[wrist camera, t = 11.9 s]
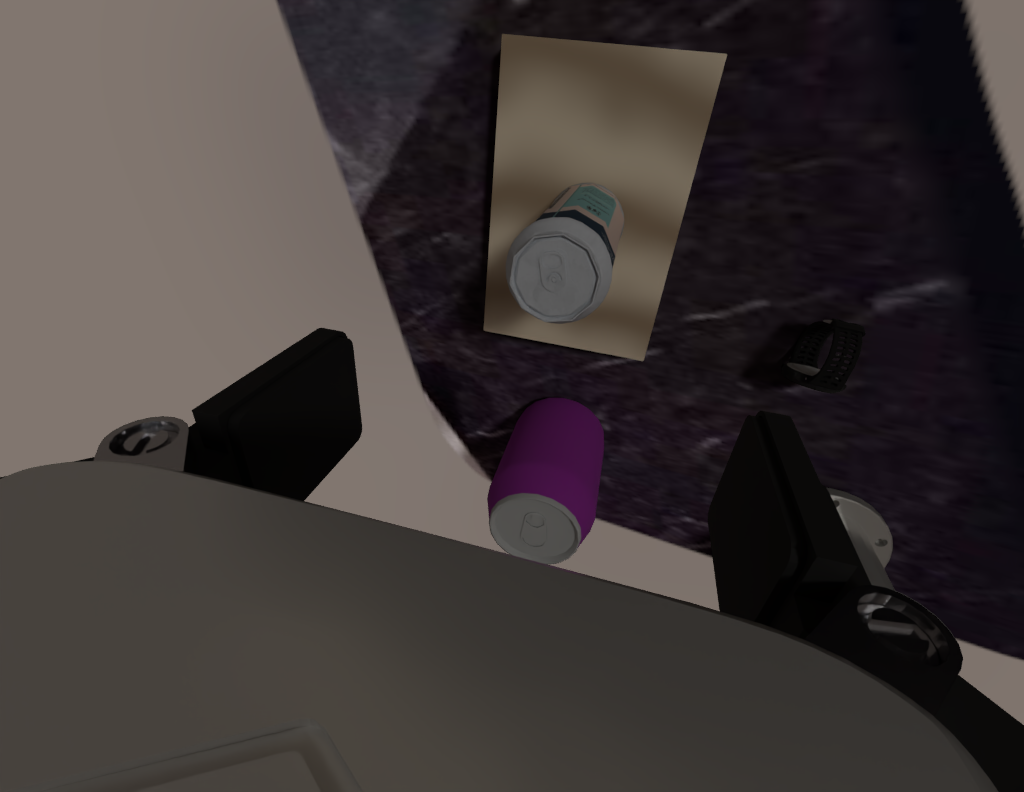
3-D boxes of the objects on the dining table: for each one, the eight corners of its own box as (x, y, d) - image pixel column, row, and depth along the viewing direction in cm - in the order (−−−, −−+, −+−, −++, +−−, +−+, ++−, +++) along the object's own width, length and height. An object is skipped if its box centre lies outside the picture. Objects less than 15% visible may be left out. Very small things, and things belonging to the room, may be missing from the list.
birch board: (643, 349, 36) (643, 361, 34) (490, 320, 38) (483, 330, 36) (722, 57, 26) (727, 54, 24) (510, 38, 28) (502, 33, 26)
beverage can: (520, 385, 40) (477, 478, 30) (611, 399, 39) (598, 501, 29) (516, 456, 44) (478, 558, 34) (599, 471, 43) (584, 582, 33)
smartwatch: (763, 349, 34) (779, 384, 30) (826, 293, 31) (854, 322, 27) (807, 382, 34) (829, 420, 30) (874, 329, 31) (908, 364, 27)
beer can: (553, 262, 32) (508, 334, 22) (544, 186, 30) (490, 228, 20) (626, 256, 31) (613, 329, 21) (623, 175, 28) (607, 215, 18)
